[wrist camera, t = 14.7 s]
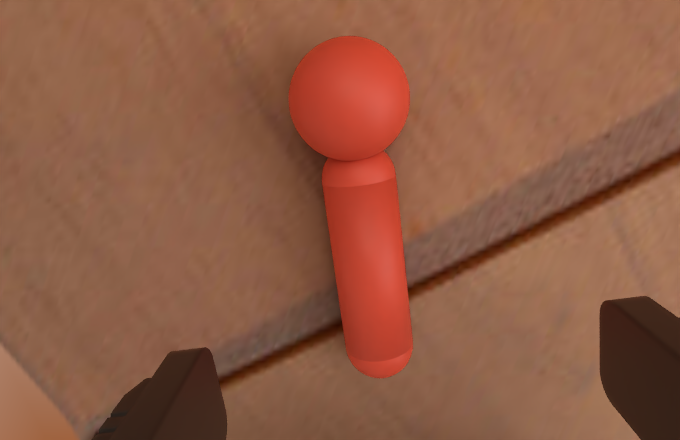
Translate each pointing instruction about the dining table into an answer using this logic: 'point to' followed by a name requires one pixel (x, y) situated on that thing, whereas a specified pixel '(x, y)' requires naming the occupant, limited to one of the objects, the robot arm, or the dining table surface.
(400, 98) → the red ball-tipped rod
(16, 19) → the dining table surface
